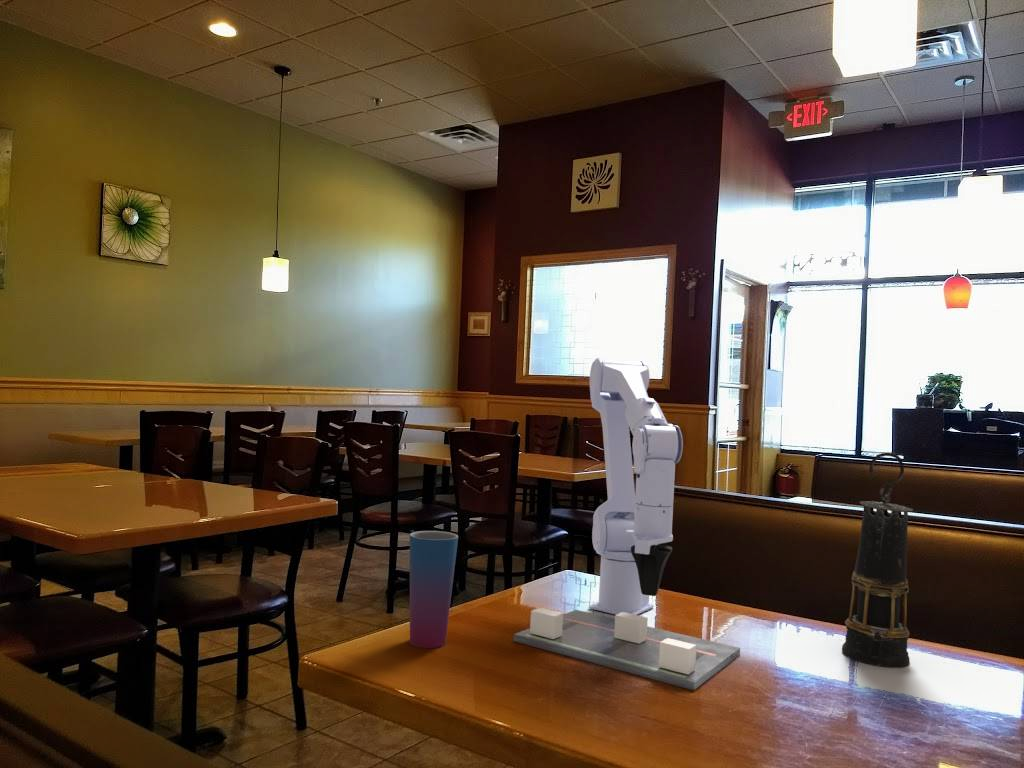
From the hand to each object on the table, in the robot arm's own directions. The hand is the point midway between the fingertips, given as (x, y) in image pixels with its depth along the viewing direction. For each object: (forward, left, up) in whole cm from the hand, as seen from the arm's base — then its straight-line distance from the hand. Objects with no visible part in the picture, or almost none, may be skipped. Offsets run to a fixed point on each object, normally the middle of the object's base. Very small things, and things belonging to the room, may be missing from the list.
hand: (649, 594), depth 115 cm
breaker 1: (+13, -10, -5) cm, 17 cm away
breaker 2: (+13, +10, -5) cm, 17 cm away
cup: (+25, -22, -7) cm, 34 cm away
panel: (+7, 0, -6) cm, 9 cm away
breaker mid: (+6, 0, -5) cm, 8 cm away
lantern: (-16, +29, -7) cm, 34 cm away
